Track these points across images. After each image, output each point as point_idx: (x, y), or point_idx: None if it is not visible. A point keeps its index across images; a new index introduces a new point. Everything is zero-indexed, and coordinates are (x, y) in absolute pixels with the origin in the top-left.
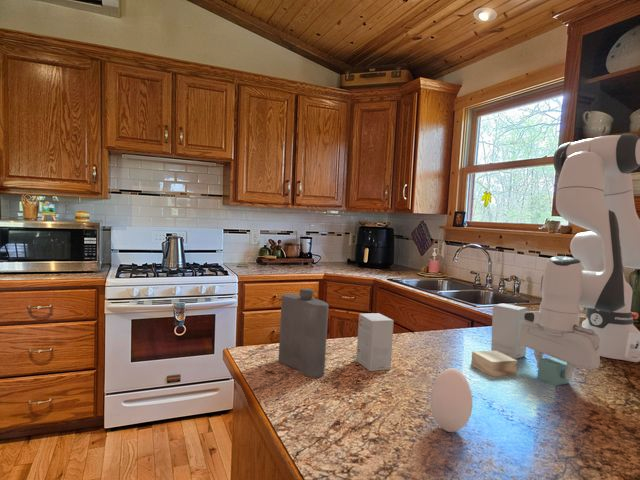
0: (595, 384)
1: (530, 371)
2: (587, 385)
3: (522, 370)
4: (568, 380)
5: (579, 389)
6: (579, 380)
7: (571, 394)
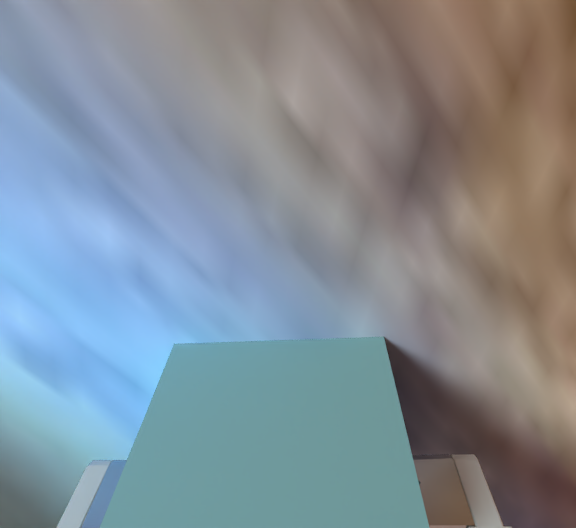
0: (552, 20)
1: (66, 437)
2: (515, 187)
3: (46, 476)
4: (389, 366)
5: (531, 370)
6: (367, 134)
7: (553, 502)
